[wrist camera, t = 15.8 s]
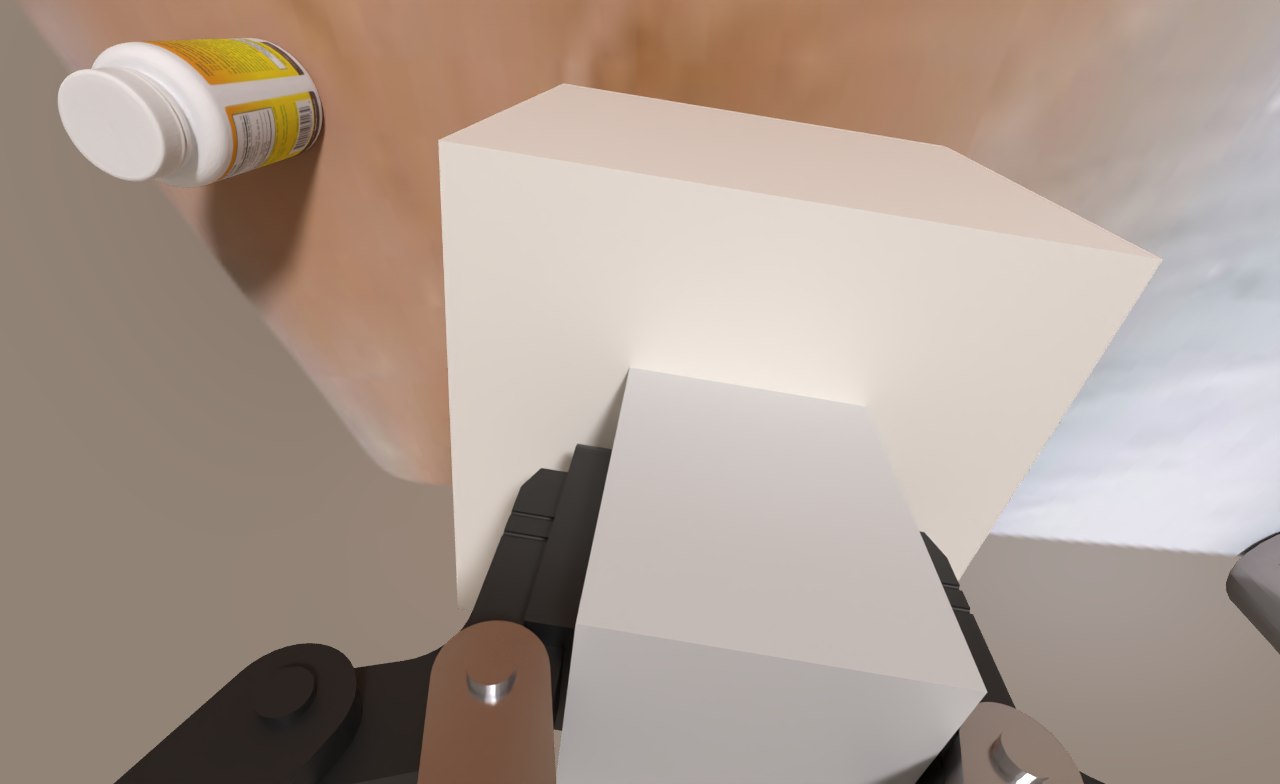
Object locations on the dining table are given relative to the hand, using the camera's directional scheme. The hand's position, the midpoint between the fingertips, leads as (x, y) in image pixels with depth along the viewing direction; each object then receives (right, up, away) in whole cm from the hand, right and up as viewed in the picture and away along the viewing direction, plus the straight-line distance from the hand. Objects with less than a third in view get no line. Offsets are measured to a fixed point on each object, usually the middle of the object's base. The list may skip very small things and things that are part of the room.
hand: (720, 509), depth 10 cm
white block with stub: (+1, +5, +8) cm, 10 cm away
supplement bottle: (-21, +18, +21) cm, 34 cm away
